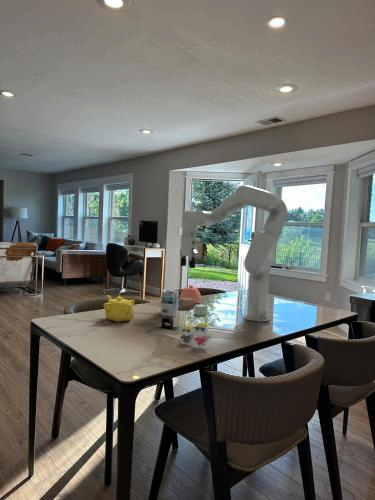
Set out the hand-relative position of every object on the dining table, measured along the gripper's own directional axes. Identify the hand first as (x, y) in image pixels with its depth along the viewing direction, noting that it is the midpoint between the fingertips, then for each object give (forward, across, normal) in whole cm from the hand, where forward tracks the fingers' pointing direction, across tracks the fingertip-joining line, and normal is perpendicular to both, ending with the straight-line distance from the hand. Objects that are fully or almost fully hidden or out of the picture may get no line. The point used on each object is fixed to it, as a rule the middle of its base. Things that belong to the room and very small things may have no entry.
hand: (187, 267), depth 189 cm
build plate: (+22, -32, +25) cm, 47 cm away
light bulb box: (+22, -10, +14) cm, 28 cm away
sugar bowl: (+22, +12, -9) cm, 27 cm away
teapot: (+22, -14, +41) cm, 48 cm away
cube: (+22, -16, 0) cm, 27 cm away
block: (+22, 0, 0) cm, 22 cm away
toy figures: (+22, -56, +26) cm, 66 cm away
